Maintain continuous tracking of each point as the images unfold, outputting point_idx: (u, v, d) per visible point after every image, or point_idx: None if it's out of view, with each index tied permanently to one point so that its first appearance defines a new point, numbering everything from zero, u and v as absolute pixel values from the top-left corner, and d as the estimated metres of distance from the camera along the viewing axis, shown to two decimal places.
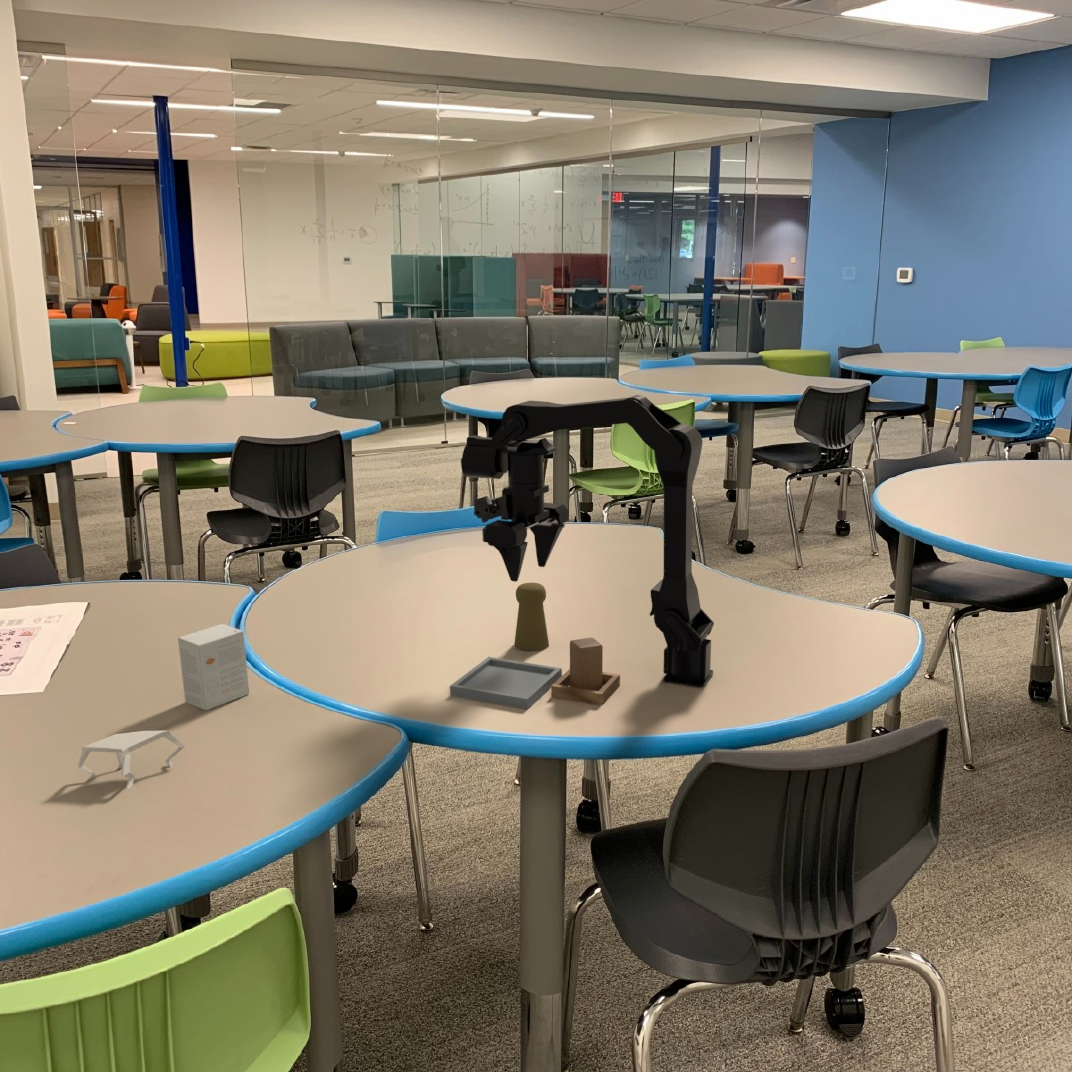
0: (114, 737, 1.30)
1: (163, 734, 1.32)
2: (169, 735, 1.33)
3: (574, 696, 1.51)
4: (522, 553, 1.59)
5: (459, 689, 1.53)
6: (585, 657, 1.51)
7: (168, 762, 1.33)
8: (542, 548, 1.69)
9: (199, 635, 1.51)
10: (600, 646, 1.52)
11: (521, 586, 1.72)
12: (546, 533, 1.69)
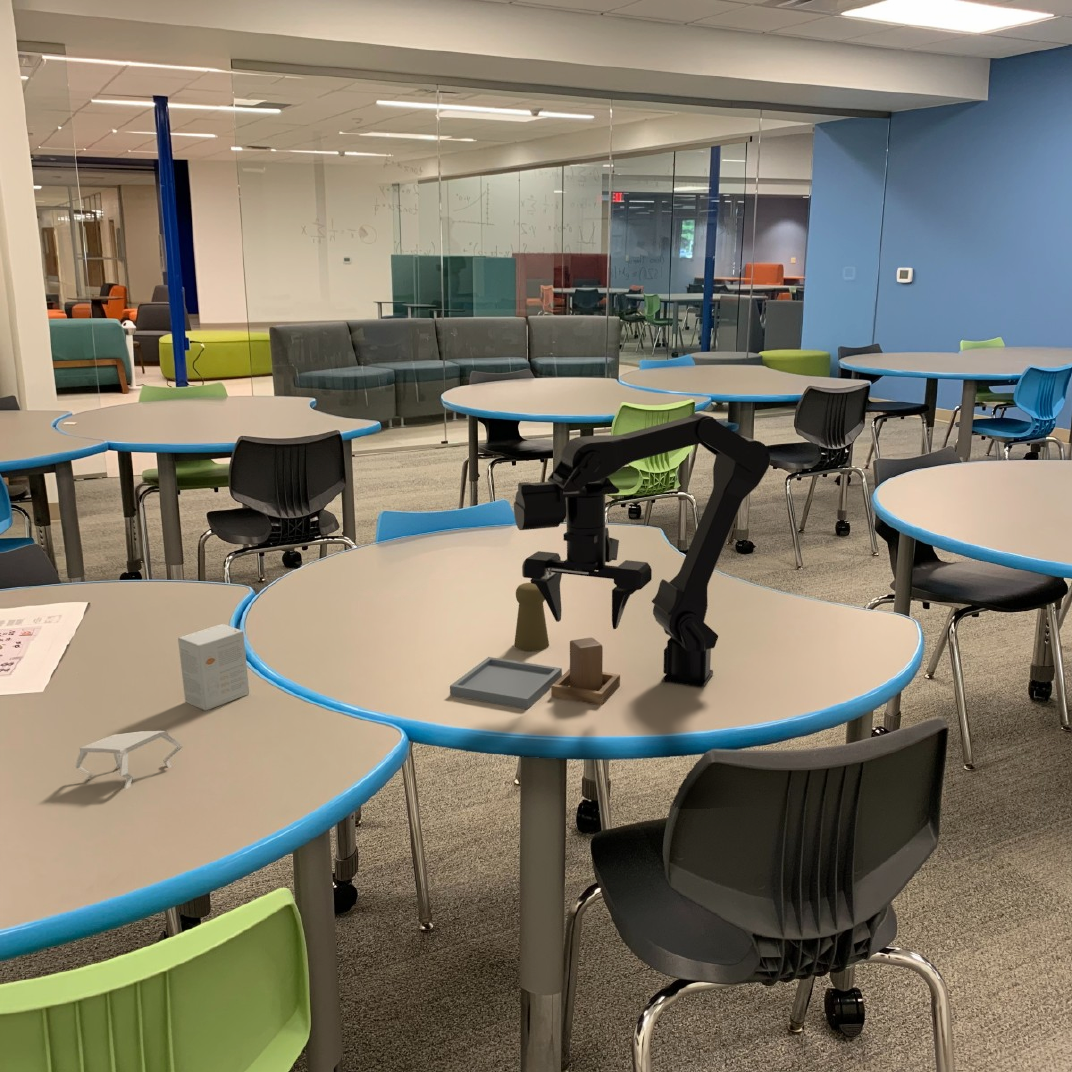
0: (112, 738, 1.30)
1: (161, 734, 1.32)
2: (167, 735, 1.33)
3: (574, 696, 1.51)
4: (543, 592, 1.51)
5: (459, 689, 1.53)
6: (585, 657, 1.51)
7: (166, 762, 1.33)
8: None
9: (199, 635, 1.51)
10: (600, 646, 1.52)
11: (521, 586, 1.72)
12: None
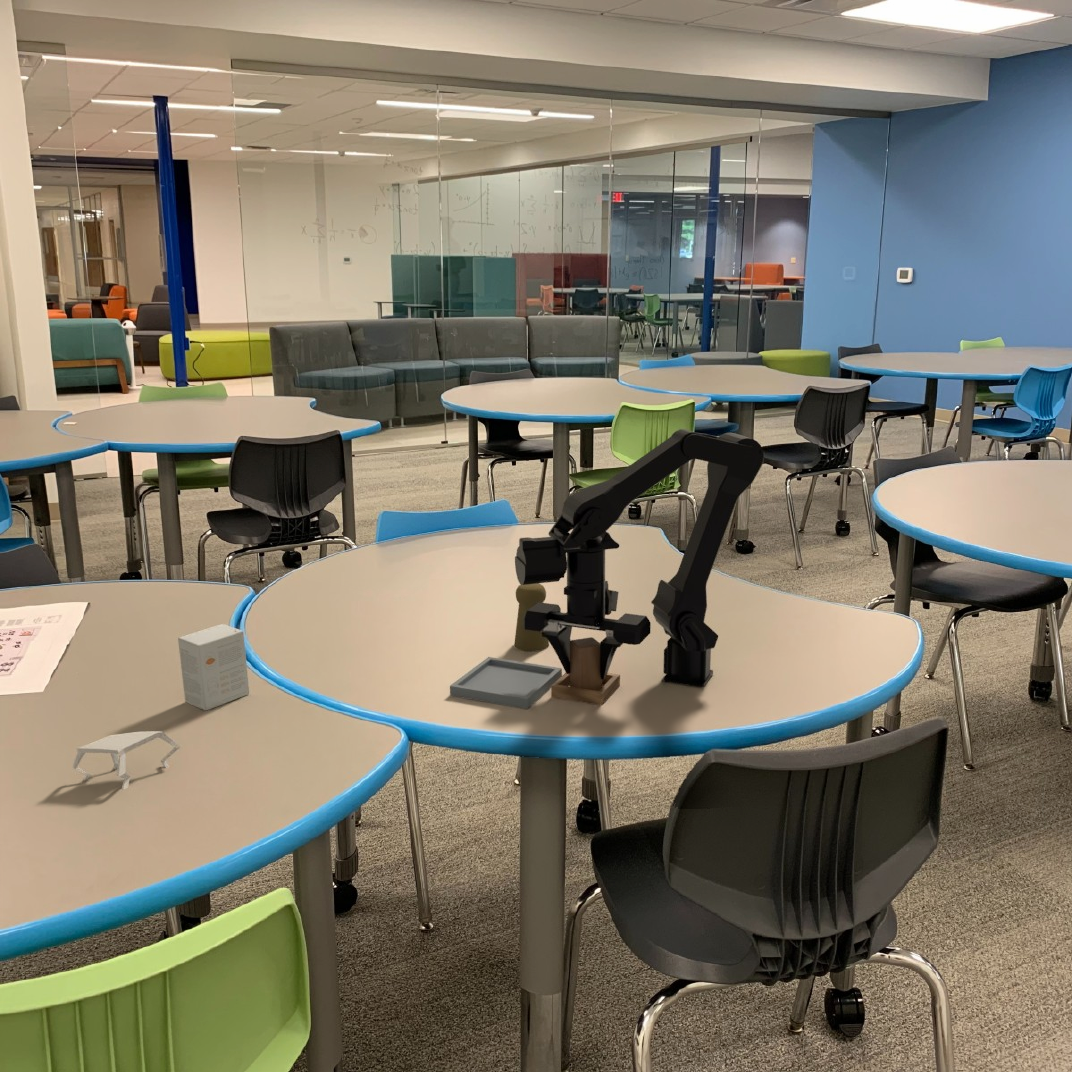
0: (109, 738, 1.30)
1: (158, 735, 1.32)
2: (164, 736, 1.33)
3: (574, 696, 1.51)
4: (554, 645, 1.53)
5: (459, 689, 1.53)
6: (585, 657, 1.51)
7: (163, 763, 1.33)
8: None
9: (199, 635, 1.51)
10: None
11: (521, 586, 1.72)
12: None
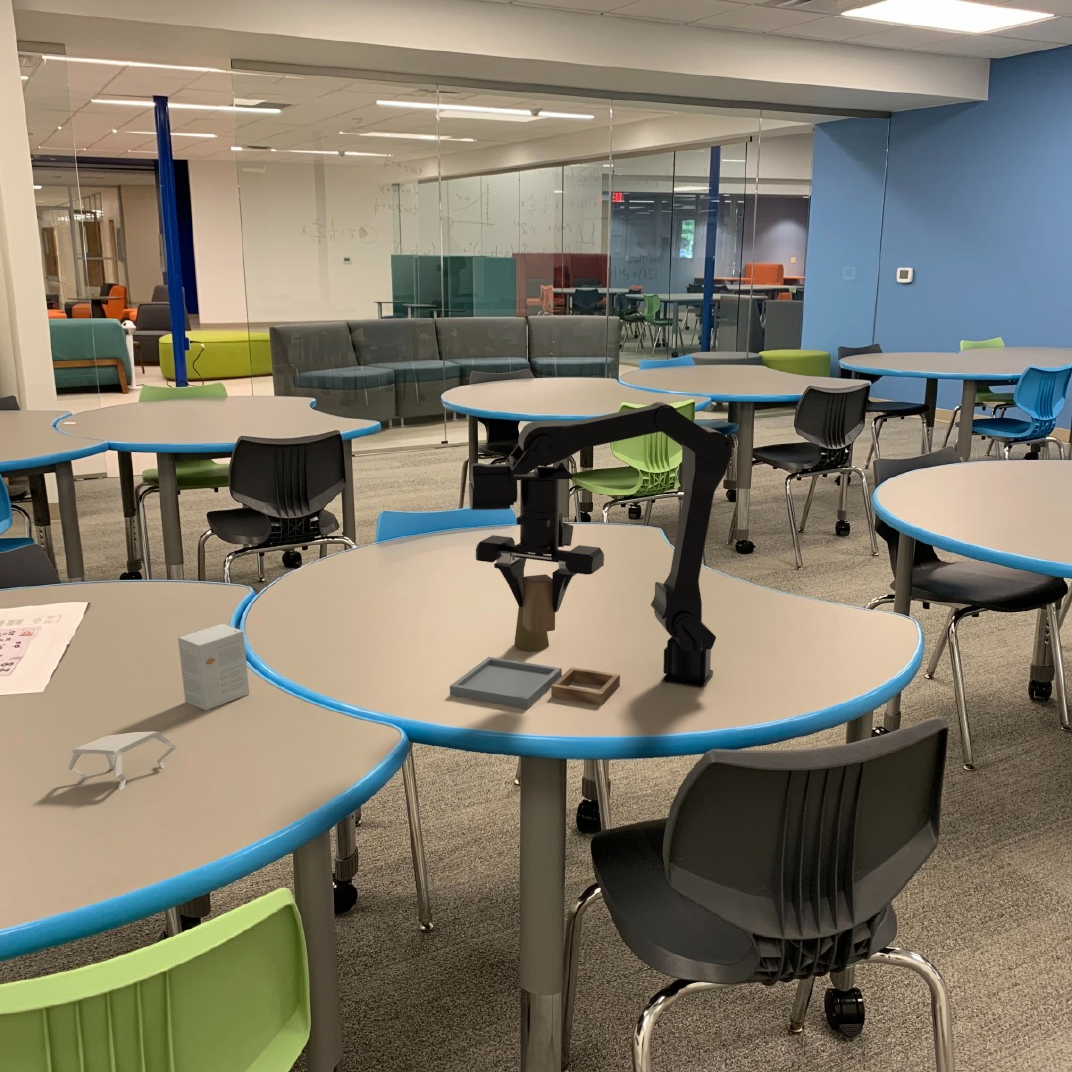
0: (105, 739, 1.30)
1: (154, 735, 1.32)
2: (160, 736, 1.32)
3: (574, 696, 1.51)
4: (506, 577, 1.51)
5: (459, 689, 1.53)
6: (537, 592, 1.50)
7: (159, 763, 1.33)
8: None
9: (199, 635, 1.51)
10: None
11: None
12: None
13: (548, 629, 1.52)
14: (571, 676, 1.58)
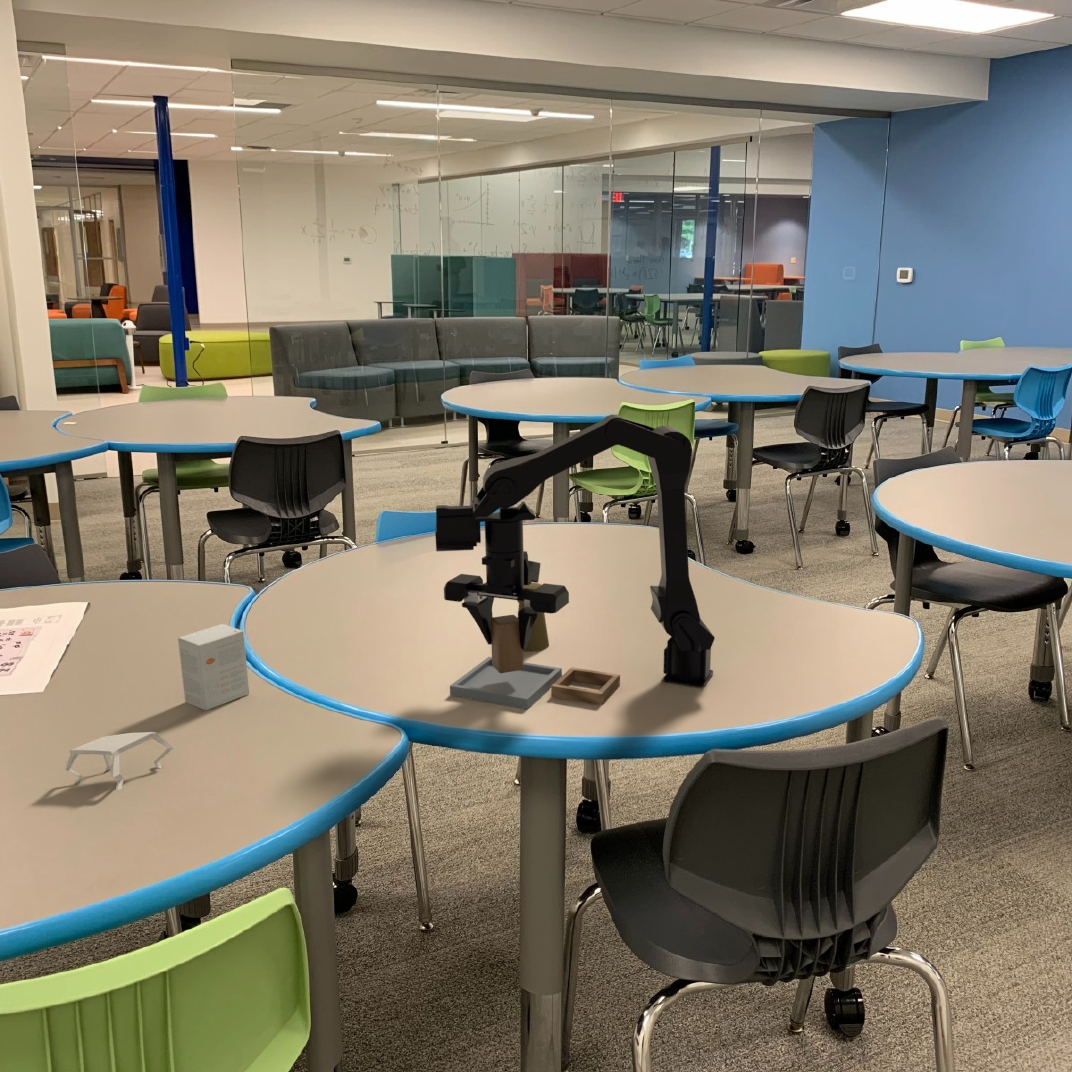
0: (102, 739, 1.30)
1: (151, 735, 1.32)
2: (157, 736, 1.32)
3: (574, 696, 1.51)
4: (474, 615, 1.54)
5: (459, 689, 1.53)
6: (504, 634, 1.53)
7: (157, 764, 1.33)
8: None
9: (199, 635, 1.51)
10: None
11: None
12: None
13: (516, 669, 1.55)
14: (571, 676, 1.58)
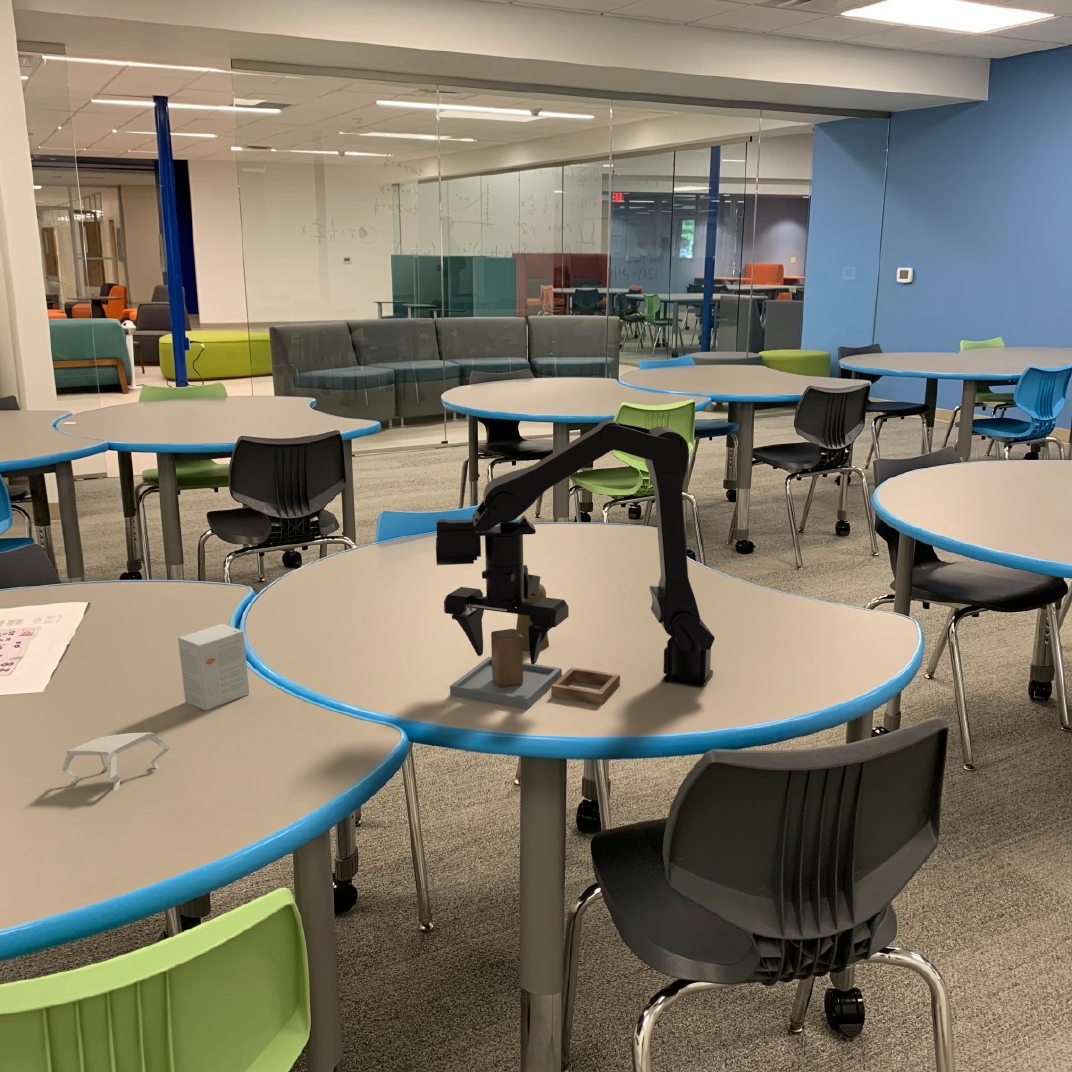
0: (98, 740, 1.30)
1: (148, 736, 1.32)
2: (154, 737, 1.32)
3: (574, 696, 1.51)
4: (464, 627, 1.55)
5: (459, 689, 1.53)
6: (504, 648, 1.53)
7: (153, 764, 1.33)
8: None
9: (199, 635, 1.51)
10: (520, 637, 1.54)
11: None
12: None
13: (516, 683, 1.55)
14: (571, 676, 1.58)
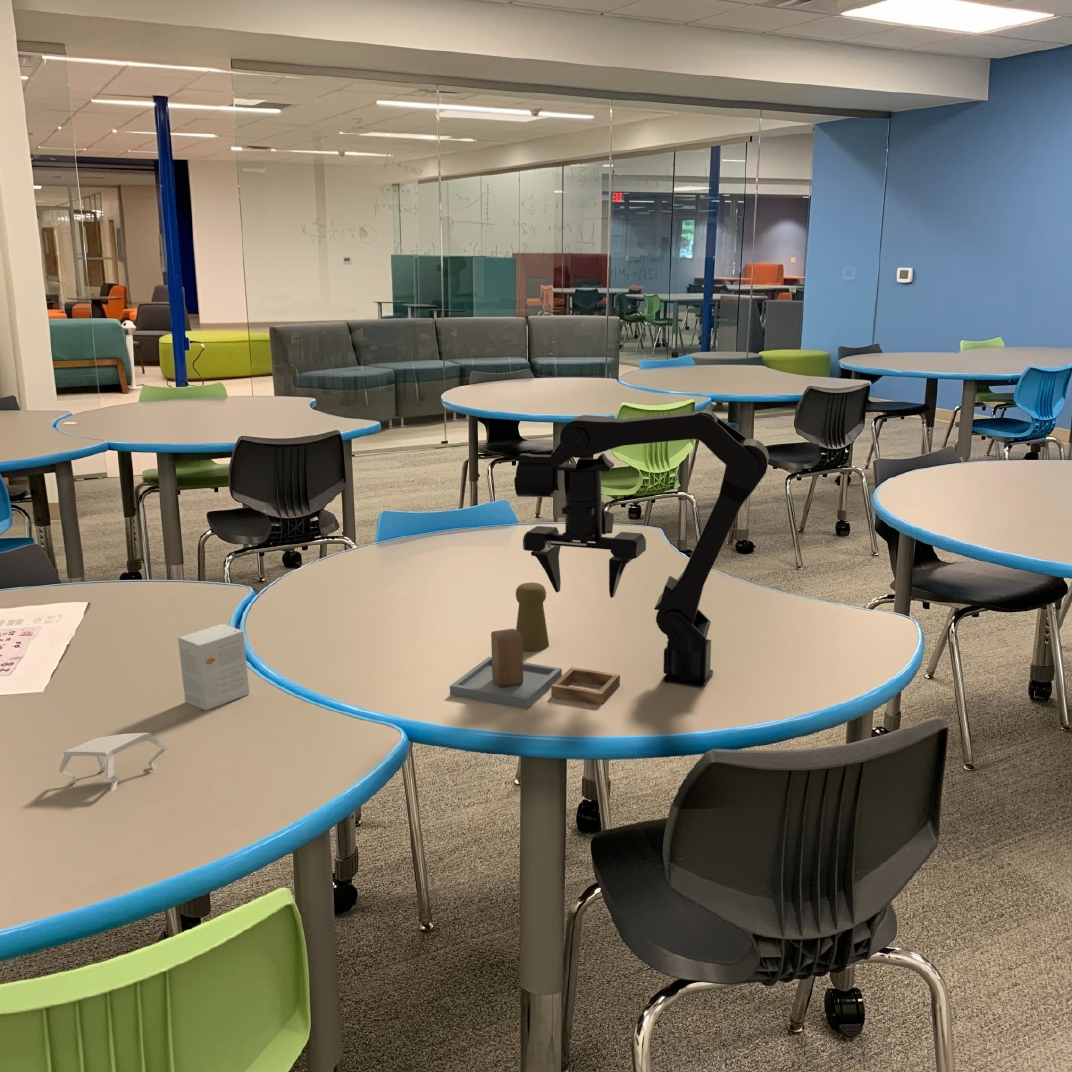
0: (95, 741, 1.30)
1: (145, 736, 1.32)
2: (151, 737, 1.32)
3: (574, 696, 1.51)
4: (543, 564, 1.59)
5: (459, 689, 1.53)
6: (504, 648, 1.53)
7: (151, 764, 1.32)
8: None
9: (199, 635, 1.51)
10: (520, 637, 1.54)
11: (521, 586, 1.72)
12: None
13: (516, 683, 1.55)
14: (571, 676, 1.58)
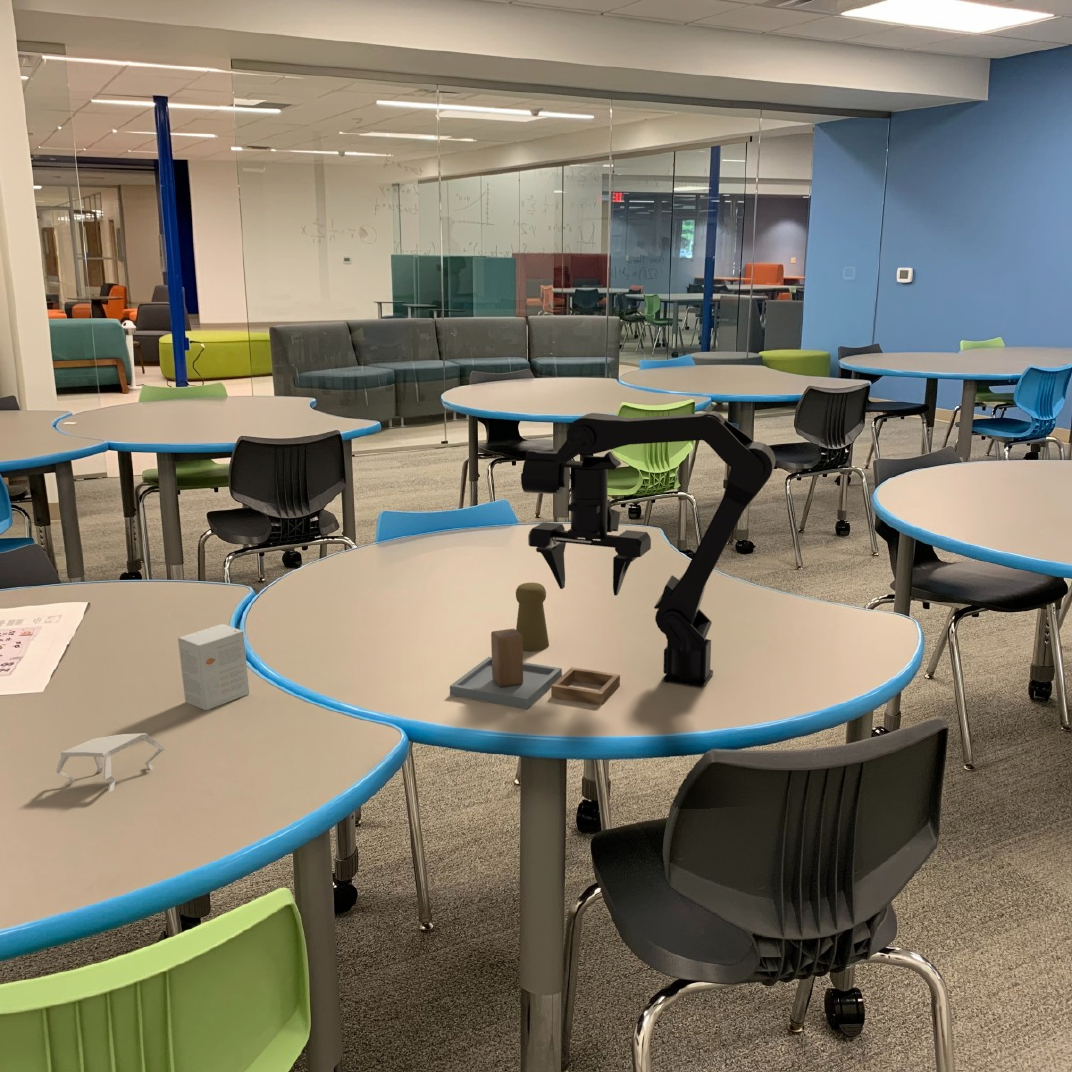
0: (93, 741, 1.29)
1: (142, 737, 1.32)
2: (148, 738, 1.32)
3: (574, 696, 1.51)
4: (548, 560, 1.60)
5: (459, 689, 1.53)
6: (504, 648, 1.53)
7: (148, 765, 1.32)
8: None
9: (199, 635, 1.51)
10: (520, 637, 1.54)
11: (521, 586, 1.72)
12: None
13: (516, 683, 1.55)
14: (571, 676, 1.58)
